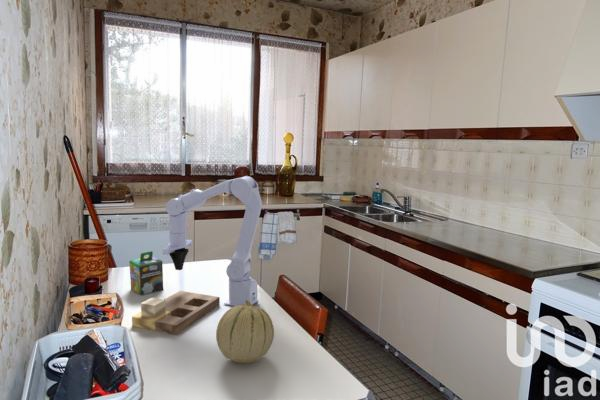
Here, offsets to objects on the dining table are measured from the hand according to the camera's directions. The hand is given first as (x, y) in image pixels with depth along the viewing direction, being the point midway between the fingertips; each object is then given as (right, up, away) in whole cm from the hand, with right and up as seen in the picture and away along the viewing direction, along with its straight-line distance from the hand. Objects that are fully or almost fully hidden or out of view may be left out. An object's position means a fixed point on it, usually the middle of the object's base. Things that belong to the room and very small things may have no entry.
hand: (178, 269), depth 151 cm
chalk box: (-14, -9, +9) cm, 19 cm away
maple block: (-2, -10, -20) cm, 23 cm away
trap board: (+4, -13, -14) cm, 19 cm away
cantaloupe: (+29, -17, -41) cm, 53 cm away
